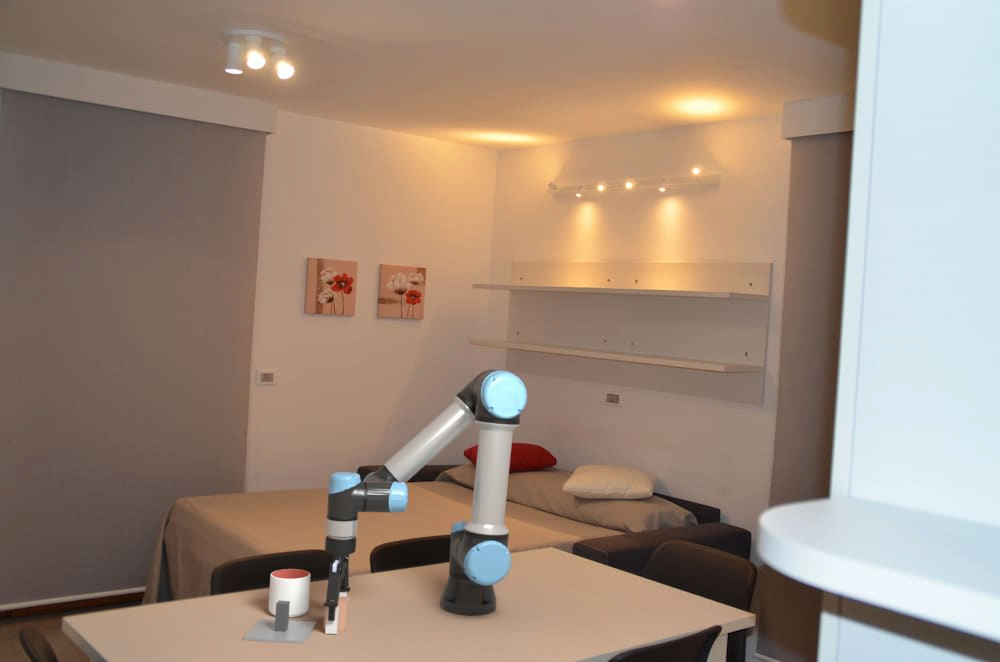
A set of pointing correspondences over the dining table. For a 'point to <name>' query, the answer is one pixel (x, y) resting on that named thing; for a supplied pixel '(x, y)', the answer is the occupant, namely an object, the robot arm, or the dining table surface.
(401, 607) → the dining table surface
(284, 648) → the dining table surface
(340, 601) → the peach toy cube
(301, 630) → the grey square plate
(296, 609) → the cup
